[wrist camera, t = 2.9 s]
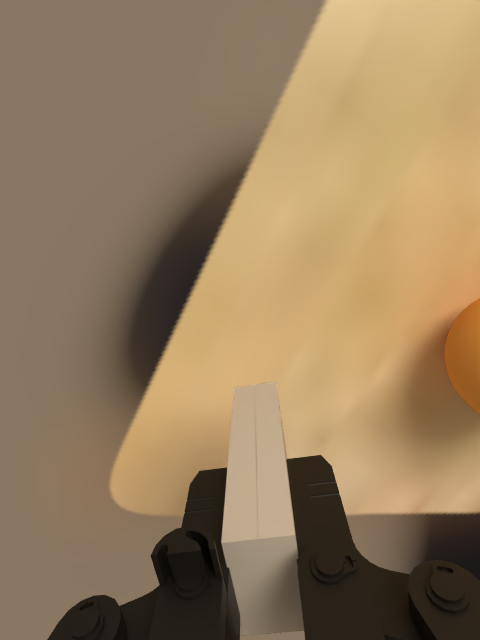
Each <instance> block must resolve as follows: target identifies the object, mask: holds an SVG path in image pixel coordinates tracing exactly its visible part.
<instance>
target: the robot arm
mask: <svg viewBox="0 0 480 640" xmlns="http://www.w3.org/2000/svg"><path fill="white" fill-rule="evenodd" d="M151 558H152V561H153V565H154V568H155V571H156V574H157V577H158V581H159V584H160V585H159V586H158V587H157V588H156V589H154V590H153V591H152V592H150V593H148V594H146V595H144V596H142V597H140V598H138V599H135V600H133V601H130V602H128V603H126V604H123V605H121V606H119V605H118V604H117V602H116V600H115V599H113V598H111V597H109V596H106V595H98V596H92V597H90V598H87V599H85V600H83V601H80V602H79V603H78V604H77V605H75V606H74V607H72V608H71V609H70V610H69V611H68V612H67V613H66V614H65V615H64V617H63V618H62V619H61V620H60V621H59V623H58V624H57V626H56V627H55V629H54V631H53V632H52V633H51V635H50V636H49V638H48V640H240V625H241V629H242V634H243V636H247V635H258V634H269V633H281V632H292V631H303V630H304V632H305V640H480V581H479V580H478V579H476V578H475V577H474V576H473V575H472V574H471V573H470V572H468V571H467V570H466V569H464V568H462V567H460V566H458V565H455V564H454V563H451V562H445V561H440V560H434V561H426V562H423V563H421V564H420V565H418V566H417V567H415V568H414V569H413V571H412V572H411V574H405V573H400V572H395V571H390V570H387V569H384V568H380V567H378V566H376V565H374V564H372V563H370V562H369V561H368V560H367V559H365V558H364V557H363V556H362V555H361V554H360V553H359V551H358V550H357V549H356V547H355V544H354V543H353V540H352V536H351V533H350V529H349V526H348V522H347V519H346V515H345V512H344V508H343V504H342V501H341V497H340V495H339V490H338V487H337V483H336V480H335V476H334V473H333V469H332V466H331V465H330V464H329V463H328V462H327V461H326V460H325V459H324V458H323V457H322V456H321V455H317V456H309V457H301V458H292V459H287V453H286V445H285V439H284V432H283V426H282V419H281V413H280V406H279V399H278V393H277V386H276V382H270V383H263V384H256V385H248V386H241V387H234V393H233V405H232V417H231V430H230V442H229V455H228V467H227V468H220V469H212V470H203V471H199V472H198V474H197V475H196V477H195V478H194V480H193V481H192V482H191V484H190V487H189V492H188V497H187V503H186V508H185V514H184V518H183V523H182V528H178V529H175V530H173V531H172V532H170V533H168V534H167V535H165V536H164V537H163V538H162V539H161V540H160V541H159V542H158V543H157V544H156V546H155V548H154V550H153V552H152V554H151Z"/></svg>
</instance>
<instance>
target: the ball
mask: <svg viewBox="0 0 480 640" xmlns="http://www.w3.org/2000/svg"><path fill="white" fill-rule="evenodd" d="M444 355H445V365H446V370H447V374H448V376H449V379H450V381H451V383H452V385H453V387H454V389H455V390H456V392H457V393H458V394H459V396H460V397H461V398H462V399H463V401H464V402H466V403H467V404H468V405H469V406H470V407H471V408H472V409H473V410H475V411H476V412H477V413H479V414H480V299H478V300H476V301H475V302H473V303H472V304H471V305H469V306H468V307H467V308H466V309H465V310H464V311H463V312H462V313H461V314H460V315H459V316H458V318H457V319H456V320H455V322H454V323H453V325H452V327H451V329H450V331H449V333H448V336H447V340H446V344H445V352H444Z"/></svg>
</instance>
